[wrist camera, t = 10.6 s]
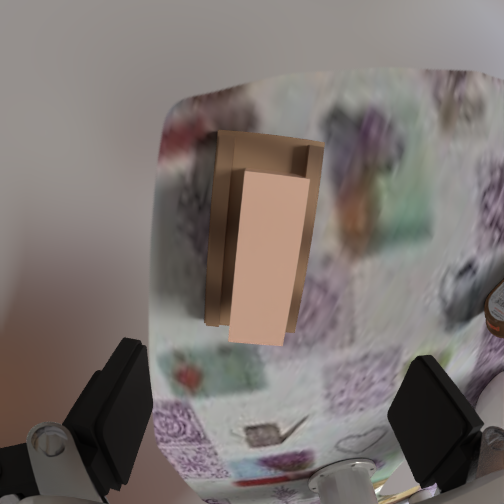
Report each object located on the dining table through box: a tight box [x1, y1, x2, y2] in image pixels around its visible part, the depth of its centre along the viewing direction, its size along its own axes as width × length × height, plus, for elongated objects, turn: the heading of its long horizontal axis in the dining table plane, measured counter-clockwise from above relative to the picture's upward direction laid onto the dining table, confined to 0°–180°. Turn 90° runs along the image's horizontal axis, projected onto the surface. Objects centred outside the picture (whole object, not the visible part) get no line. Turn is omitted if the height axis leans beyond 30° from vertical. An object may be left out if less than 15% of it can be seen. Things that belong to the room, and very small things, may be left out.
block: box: [228, 168, 310, 346], centre depth 23 cm, size 4×12×7 cm, turn 174°
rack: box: [204, 130, 325, 333], centre depth 26 cm, size 18×9×2 cm, turn 174°
